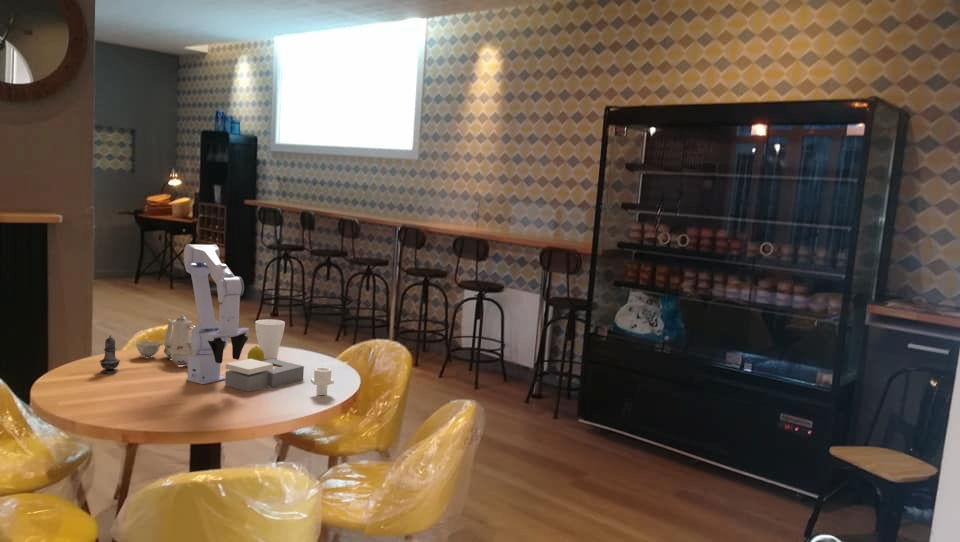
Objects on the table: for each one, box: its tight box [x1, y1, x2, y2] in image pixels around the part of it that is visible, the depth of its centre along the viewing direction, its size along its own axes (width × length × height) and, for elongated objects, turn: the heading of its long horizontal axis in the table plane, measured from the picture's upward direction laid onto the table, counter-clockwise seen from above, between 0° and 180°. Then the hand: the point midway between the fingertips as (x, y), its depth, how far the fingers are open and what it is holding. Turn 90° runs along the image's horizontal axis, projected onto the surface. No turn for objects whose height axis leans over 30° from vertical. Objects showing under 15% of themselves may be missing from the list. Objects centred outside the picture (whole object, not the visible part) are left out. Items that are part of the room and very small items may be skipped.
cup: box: [254, 318, 286, 361], centre depth 259 cm, size 10×10×14 cm
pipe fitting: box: [310, 366, 335, 396], centre depth 219 cm, size 6×7×8 cm
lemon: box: [246, 345, 265, 361], centre depth 243 cm, size 6×6×8 cm
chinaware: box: [134, 313, 197, 367], centre depth 246 cm, size 28×17×17 cm, turn 67°
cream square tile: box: [225, 358, 273, 375], centre depth 223 cm, size 10×10×2 cm
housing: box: [224, 359, 305, 392], centre depth 228 cm, size 22×14×4 cm, turn 151°
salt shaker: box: [99, 334, 121, 375], centre depth 226 cm, size 6×6×12 cm
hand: (227, 360), depth 214 cm, fingers open, 6 cm apart
